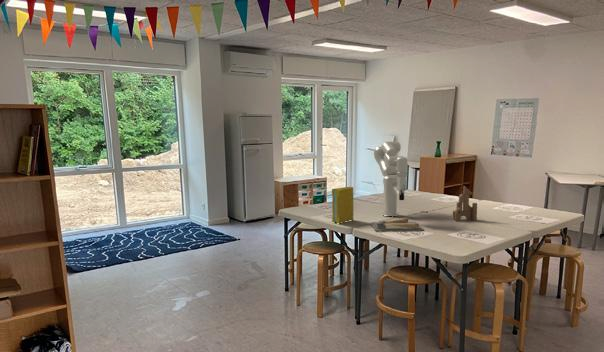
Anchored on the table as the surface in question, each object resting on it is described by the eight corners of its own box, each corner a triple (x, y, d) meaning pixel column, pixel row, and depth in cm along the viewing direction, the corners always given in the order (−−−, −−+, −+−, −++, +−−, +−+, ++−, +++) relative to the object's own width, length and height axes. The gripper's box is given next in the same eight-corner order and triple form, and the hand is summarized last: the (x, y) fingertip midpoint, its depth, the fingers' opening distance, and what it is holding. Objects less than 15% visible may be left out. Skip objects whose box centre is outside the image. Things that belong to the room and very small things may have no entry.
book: (338, 224, 292) (337, 189, 289) (332, 222, 297) (331, 188, 294) (355, 220, 302) (355, 187, 299) (349, 219, 307) (349, 186, 304)
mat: (370, 223, 291) (370, 222, 291) (414, 223, 291) (414, 221, 291) (375, 231, 269) (375, 230, 269) (423, 230, 269) (423, 229, 269)
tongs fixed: (376, 227, 276) (376, 222, 276) (416, 226, 276) (416, 221, 276) (378, 229, 271) (378, 224, 270) (419, 228, 271) (419, 223, 270)
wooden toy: (456, 221, 293) (456, 187, 290) (452, 219, 300) (453, 185, 297) (477, 221, 293) (478, 186, 290) (473, 219, 300) (474, 185, 297)
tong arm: (374, 227, 276) (374, 222, 276) (405, 222, 289) (405, 217, 288) (379, 229, 271) (379, 223, 271) (410, 223, 284) (410, 218, 283)
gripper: (394, 173, 297) (394, 198, 299) (399, 175, 282) (398, 201, 284) (404, 173, 297) (404, 198, 299) (409, 175, 282) (409, 201, 284)
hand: (401, 199), depth 292 cm, fingers closed
